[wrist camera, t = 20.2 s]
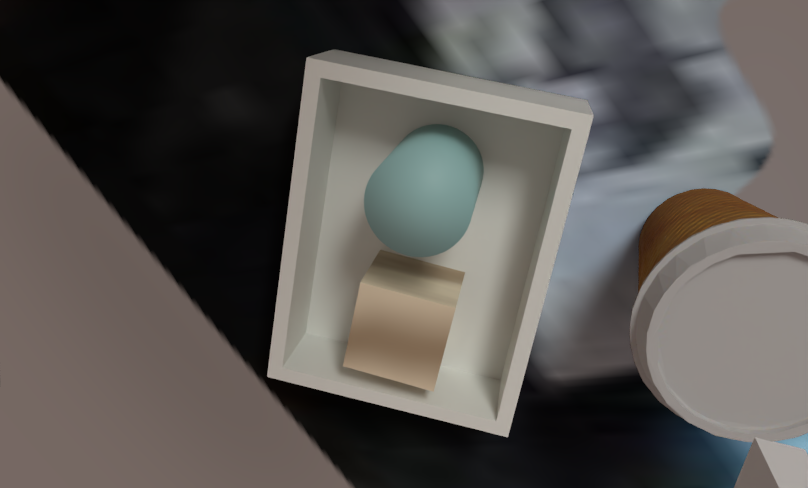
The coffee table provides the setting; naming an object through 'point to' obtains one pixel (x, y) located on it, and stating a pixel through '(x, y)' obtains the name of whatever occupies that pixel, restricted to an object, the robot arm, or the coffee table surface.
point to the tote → (474, 254)
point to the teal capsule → (425, 191)
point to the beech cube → (403, 319)
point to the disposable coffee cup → (724, 316)
